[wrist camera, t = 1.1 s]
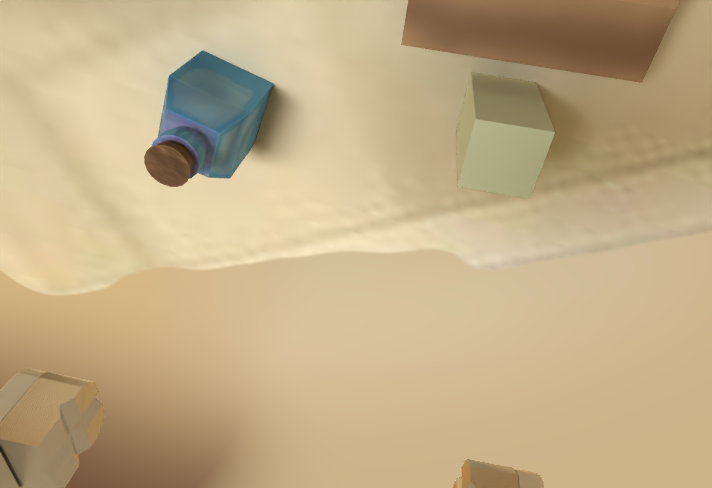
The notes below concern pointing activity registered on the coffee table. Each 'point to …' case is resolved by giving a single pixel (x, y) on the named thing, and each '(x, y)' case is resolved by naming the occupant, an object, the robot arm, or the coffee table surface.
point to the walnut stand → (546, 32)
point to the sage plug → (502, 136)
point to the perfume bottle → (207, 120)
